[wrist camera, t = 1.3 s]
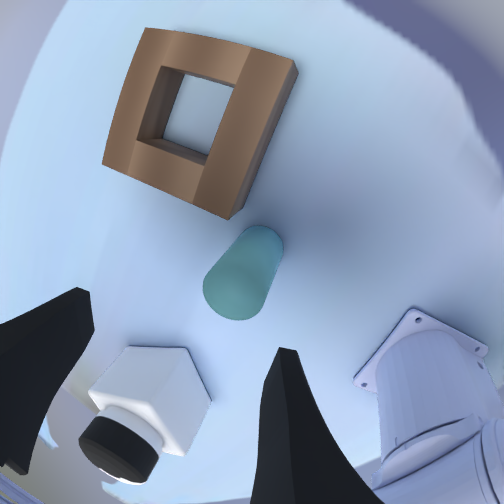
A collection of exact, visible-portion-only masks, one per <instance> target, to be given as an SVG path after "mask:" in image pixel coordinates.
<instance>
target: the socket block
mask: <svg viewBox="0 0 504 504" xmlns="http://www.w3.org/2000/svg"><path fill="white" fill-rule="evenodd" d="M184 74H187V75H191V76H195V77H199V78H202V79H206V80H210V81H213V82H217V83H220V84H223V85H227V86H230V87H233V88H234V90H233V92H232V94H231V97H230V99H229V102H228V104H227V107H226V110H225V112H224V115H223V117H222V120H221V122H220V125H219V128H218V130H217V133H216V136H215V138H214V141H213V144H212V147H211V149H210V152H209V155H208V156H207V155H204V154H202V153H199V152H197V151H194V150H192V149H189V148H186V147H184V146H181V145H178V144H176V143H173V142H170V141H167V140H165V139H162V137H163V133H164V130H165V127H166V124H167V121H168V118H169V115H170V112H171V109H172V107H173V104H174V101H175V98H176V95H177V93H178V90H179V87H180V85H181V82H182V80H183V77H184ZM298 74H299V73H298V70H297V68H296V66H295V63H294V61H293V60H291V59H288V58H285V57H282V56H279V55H276V54H273V53H270V52H266V51H263V50H260V49H256V48H253V47H249V46H245V45H242V44H238V43H234V42H230V41H225V40H221V39H216V38H212V37H207V36H202V35H196V34H191V33H185V32H178V31H171V30H164V29H156V28H146V27H145V30H144V32H143V34H142V37H141V39H140V41H139V44H138V46H137V49H136V51H135V54H134V56H133V59H132V62H131V64H130V67H129V70H128V72H127V75H126V78H125V81H124V84H123V87H122V90H121V93H120V96H119V100H118V103H117V106H116V109H115V113H114V116H113V120H112V124H111V127H110V131H109V135H108V139H107V143H106V147H105V151H104V156H103V160H102V165H105V166H107V167H109V168H111V169H114V170H116V171H118V172H121V173H123V174H125V175H128V176H130V177H132V178H134V179H137V180H139V181H141V182H144V183H146V184H148V185H150V186H153V187H155V188H157V189H159V190H162V191H164V192H166V193H168V194H171V195H173V196H175V197H177V198H180V199H182V200H184V201H186V202H188V203H191V204H193V205H195V206H197V207H199V208H202V209H204V210H206V211H208V212H210V213H213V214H215V215H217V216H219V217H221V218H224V219H226V220H229V219H230V218H231V217H232V216H234V215H235V214H236V213H237V212H238V211H239V210H241V209H242V208H243V206H244V203H245V201H246V198H247V196H248V193H249V191H250V188H251V186H252V183H253V181H254V178H255V176H256V173H257V171H258V169H259V166H260V164H261V161H262V159H263V156H264V154H265V152H266V149H267V147H268V144H269V142H270V139H271V137H272V135H273V132H274V130H275V128H276V125H277V123H278V120H279V118H280V116H281V113H282V111H283V109H284V106H285V104H286V102H287V99H288V97H289V95H290V92H291V90H292V88H293V85H294V83H295V81H296V78H297V76H298Z"/></svg>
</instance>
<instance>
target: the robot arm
mask: <svg viewBox="0 0 504 504" xmlns="http://www.w3.org/2000/svg"><path fill="white" fill-rule="evenodd" d="M418 317H420V319H419V320H416V318H418ZM94 331H95V330H94V323H93V316H92V309H91V301H90V292H89V291H86V290H84V289H81V288H78V287H76V288H74V289H71V290H69V291H67V292H65V293H63V294H61V295H59V296H58V297H56V298H54V299H52V300H50V301H48V302H46V303H44V304H42V305H40V306H38V307H36V308H34V309H33V310H31V311H28V312H26V313H24V314H22V315H20V316H18V317H16V318H14V319H12V320H10V321H7V322H5V323H2V324H0V466H1V467H3V466H4V464H6V465H7V466H9V467H10V468H11V469H13V470H14V471H15V472H17V473H18V474H20V475H26V474H28V470H29V465H30V460H31V457H32V452H33V449H34V445H35V442H36V439H37V436H38V433H39V430H40V428H41V425H42V423H43V420H44V418H45V415H46V413H47V411H48V408H49V406H50V404H51V402H52V400H53V398H54V396H55V395H56V393H57V391H58V389H59V388H60V386H61V385H62V383H63V382H64V380H65V379H66V377H67V376H68V374H69V373H70V371H71V370H72V369H73V367H74V366H75V364H76V363H77V361H78V360H79V358H80V357H81V355H82V354H83V352H84V351H85V349H86V347H87V345H88V343H89V341H90V339H91V337H92V335H93V333H94ZM475 348H476V349H475ZM488 350H489V349H488V347H487V346H486V345H485V344H483V343H481V342H479V341H477V340H475V339H473V338H471V337H469V336H467V335H465V334H463V333H462V332H460V331H458V330H456V329H454V328H452V327H450V326H448V325H446V324H444V323H442V322H440V321H438V320H436V319H434V318H432V317H430V316H428V315H426V314H424V313H422V312H420V311H418V310H416V309H411V310H409V311H408V312H407V313H406V315H405V316H404V317H403V319H402V320H401V321H400V323H399V324H398V325H397V327H396V328H395V329H394V331H393V332H392V333H391V335H390V336H389V337H388V338H387V340H386V341H385V342H384V343H383V345H382V346H381V347H380V348H379V350H378V351H377V352H376V353H375V354H374V356H373V357H372V358H371V359H370V360H369V362H368V363H367V364H366V365H365V366H364V367H363V369H362V370H361V371H360V372H359V373H358V374H357V375H356V376H355V378H354V379H353V384H354V386H356V387H359V388H362V389H365V390H367V391H370V392H373V393H376V394H377V398H378V409H379V422H380V439H381V464H382V465H381V468H380V469H379V470H378V471H377V472H375V473H373V474H372V488H371V489H370V488H369V487H368V486H367V485H366V483H365V482H364V481H363V480H362V478H361V477H360V476H359V475H358V473H357V472H356V471H355V469H354V468H353V467H352V466H351V464H350V463H349V462H348V460H347V459H346V457H345V456H344V454H343V453H342V451H341V450H340V448H339V446H338V445H337V443H336V441H335V440H334V438H333V436H332V434H331V433H330V431H329V429H328V427H327V425H326V423H325V421H324V419H323V417H322V415H321V413H320V411H319V409H318V406H317V404H316V402H315V399H314V397H313V395H312V392H311V390H310V387H309V385H308V382H307V379H306V376H305V374H304V371H303V368H302V365H301V362H300V359H299V355H298V353H297V351H296V350H291V349H286V348H282V347H279V349H278V351H277V353H276V356H275V358H274V360H273V363H272V365H271V367H270V370H269V372H268V374H267V377H266V379H265V381H264V386H263V392H262V398H261V404H260V418H259V439H258V459H257V468H256V474H255V480H254V486H253V491H252V496H251V501H250V504H504V405H503V403H502V400H501V398H500V396H499V393H498V391H497V389H496V386H495V384H494V382H493V380H492V378H491V376H490V374H489V371H488V369H487V367H486V365H485V363H484V361H483V358H484V357H485V355H486V354H487V353H488ZM363 383H364V384H363ZM0 490H1V491H2V492H4V493H5V494H6V495H7V496H9V497H10V498H11V499H13V500H14V501H15V502H17V503H18V504H45V503H43V502H42V501H40V500H38V499H37V498H35V497H34V496H32V495H31V494H29V493H28V492H26V491H25V490H23V489H22V488H20V487H19V486H18V485H16V484H15V483H13V482H12V481H11V480H10V479H8V478H7V477H6V476H4V475H3V474H2V473H0ZM0 504H14V503H13V502H11V501H9V500H8V499H6V498H5V497H3V496H2V495H0Z"/></svg>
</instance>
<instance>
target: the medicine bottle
mask: <svg viewBox="0 0 504 504" xmlns="http://www.w3.org/2000/svg"><path fill="white" fill-rule="evenodd" d="M88 393H89V395H90V397H91V398H92V400H93V401H94V402H95V404H96V405H97V407H98V408H99V409H100V412H99V413H98V414H97V416H96V417H95V418H94V419H93V421H92V422H91V423H90V425H89V426H88V427H87V429H86V430H85V431H84V432H83V434H82V435H81V436H80V438H79V445H80V448H81V449H82V451H83V453H84V454H85V456H86V457H87V458H88V459H89V460H90V461H91V462H92V463H93V464H94V465H95V466H97V467H98V468H99V469H101V470H102V471H103V472H105V473H106V474H108V475H110V476H112V477H113V478H115V479H117V480H119V481H122V482H124V483H128V484H133V485H141V484H145V483H146V481H147V480H148V478H149V476H150V474H151V472H152V471H153V469H154V467H155V465H156V463H157V462H158V460H159V458H160V456H161V454H162V452H165V453H170V454H174V455H179V456H185V455H186V454H187V453H188V451H189V449H190V447H191V445H192V442H193V440H194V438H195V436H196V434H197V432H198V430H199V428H200V426H201V424H202V422H203V419H204V417H205V415H206V413H207V411H208V409H209V407H210V405H211V399H210V397H209V395H208V393H207V391H206V389H205V387H204V385H203V383H202V381H201V379H200V377H199V375H198V372H197V370H196V368H195V366H194V364H193V362H192V359H191V357H190V355H189V353H188V351H187V349H185V348H158V347H134V346H128V347H126V348H125V349H124V351H123V352H122V353H121V354H120V355H119V356H118V357H117V358H116V360H115V361H114V362H113V363H112V364H111V365H110V366H109V367H108V369H107V370H106V371H105V372H104V373H103V374H102V375H101V376H100V378H99V379H98V380H97V381H96V382H95V383H94V384H93V386H92V387H91V388H90V389H89V391H88Z"/></svg>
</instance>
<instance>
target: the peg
mask: <svg viewBox="0 0 504 504" xmlns="http://www.w3.org/2000/svg"><path fill="white" fill-rule="evenodd" d="M282 255H283V244H282V241H281V239H280V237H279V236H278V234H277V233H276V232H275V231H273V230H272V229H270V228H268V227H264V226H253V227H250V228H248V229H246V230H245V231H244V232H243V233H242V234H241V235H240V236H239V237H238V238H237V240H236V241H235V242H234V243H233V244H232V245H231V246H230V248H229V249H228V250H227V251H226V252H225V253H224V255H223V256H222V257H221V258H220V259H219V260H218V261H217V263H216V264H215V265H214V266H213V267H212V268H211V270H210V271H209V272H208V273H207V275H206V276H205V278H204V281H203V294H204V297H205V299H206V301H207V303H208V304H209V306H210V307H211V308H212V309H213V310H214V311H215V312H216V313H218V314H219V315H221V316H223V317H225V318H228V319H231V320H246V319H249V318H252V317H253V316H255V315H256V314H257V313H258V312H259V311H260V310H261V308H262V307H263V304H264V302H265V299H266V297H267V294H268V292H269V289H270V286H271V284H272V281H273V279H274V276H275V274H276V271H277V268H278V266H279V263H280V261H281V258H282Z"/></svg>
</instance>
